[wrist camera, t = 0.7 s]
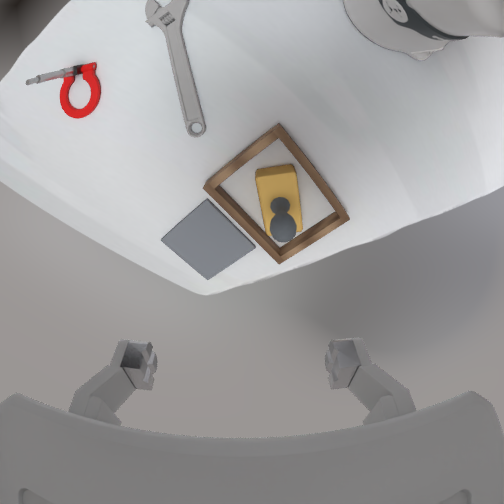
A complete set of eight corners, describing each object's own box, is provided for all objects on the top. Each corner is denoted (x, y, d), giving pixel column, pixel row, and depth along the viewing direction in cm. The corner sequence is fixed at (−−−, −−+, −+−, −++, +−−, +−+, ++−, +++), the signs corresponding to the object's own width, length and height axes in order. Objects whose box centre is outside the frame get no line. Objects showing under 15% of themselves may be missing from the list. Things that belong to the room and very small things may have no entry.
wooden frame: (278, 123, 36) (280, 126, 34) (346, 211, 44) (350, 219, 42) (205, 182, 41) (202, 188, 39) (278, 255, 49) (279, 264, 47)
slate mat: (207, 198, 43) (206, 200, 43) (255, 246, 48) (255, 248, 48) (161, 238, 48) (160, 240, 47) (208, 278, 53) (207, 280, 53)
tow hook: (103, 113, 35) (101, 60, 29) (54, 138, 25) (49, 68, 19) (65, 119, 34) (62, 70, 29) (16, 145, 24) (9, 84, 18)
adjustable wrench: (208, 133, 37) (206, 136, 36) (168, 140, 38) (164, 143, 37) (188, -16, 23) (185, -19, 21) (146, -4, 23) (141, -7, 22)
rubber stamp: (255, 169, 40) (253, 204, 31) (293, 163, 40) (304, 196, 30) (266, 224, 46) (267, 271, 36) (300, 220, 45) (311, 265, 36)
